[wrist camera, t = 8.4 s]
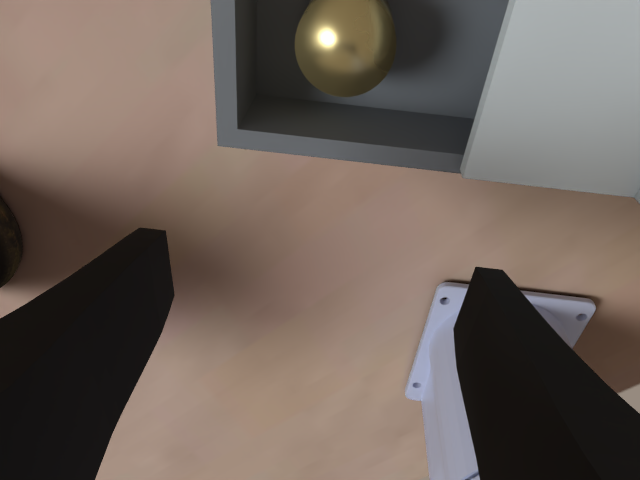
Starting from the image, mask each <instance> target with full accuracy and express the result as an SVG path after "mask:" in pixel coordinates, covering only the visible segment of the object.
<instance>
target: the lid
mask: <svg viewBox="0 0 640 480" xmlns="http://www.w3.org/2000/svg"><path fill="white" fill-rule="evenodd" d="M460 172H461V175H462V178H466V179H475V180H484V181H493V182H501V183H510V184H519V185H528V186H536V187H545V188H554V189H563V190H571V191H580V192H589V193H598V194H607V195H615V196H624V197H633V198H635V199H636V200H637V202H638V203H639V204H640V0H509V2H508V6H507V9H506V13H505V16H504V20H503V23H502V26H501V30H500V33H499V37H498V40H497V44H496V47H495V50H494V54H493V57H492V61H491V64H490V68H489V71H488V74H487V78H486V81H485V85H484V88H483V92H482V95H481V98H480V102H479V105H478V109H477V112H476V116H475V119H474V122H473V126H472V129H471V133H470V136H469V140H468V143H467V146H466V150H465V153H464V157H463V160H462V164H461V167H460Z"/></svg>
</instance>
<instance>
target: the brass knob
mask: <svg viewBox="0 0 640 480" xmlns="http://www.w3.org/2000/svg"><path fill="white" fill-rule="evenodd" d="M396 46H397V44H396V33H395V27H394V22H393V17H392V13H391V9H390V6H389V4H388V2H387V0H310V2H309V4H308V6H307V8H306V10H305V12H304V14H303V16H302V18H301V20H300V22H299V24H298V27H297V31H296V35H295V54H296V58H297V62H298V65H299V67H300V69H301V71H302V73H303V74H304V76H305V77H306V78H307V80H308V81H309V82H310V83H311V84H312V85H313V86H315V87H316V88H317V89H319V90H320V91H322V92H324V93H326V94H329V95H332V96H337V97H353V96H358V95H361V94H364V93H366V92H368V91H370V90H371V89H373V88H374V87H376V86H377V85H378V84H379V83H380V82H381V81H382V80H383V79H384V78H385V77H386V75H387V74H388V72H389V70H390V68H391V67H392V64H393V61H394V58H395V54H396Z"/></svg>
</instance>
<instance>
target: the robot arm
mask: <svg viewBox="0 0 640 480" xmlns="http://www.w3.org/2000/svg"><path fill="white" fill-rule="evenodd" d="M443 297H447V299H441V298H443ZM173 298H174V289H173V281H172V274H171V267H170V259H169V252H168V244H167V237H166V231H165V230H156V229H147V228H139V229H137V230H135V231H134V232H132V233H131V234H129V235H128V236H127V237H125V238H124V239H122V240H121V241H119V242H118V243H117V244H115V245H114V246H112V247H111V248H110V249H108V250H107V251H105V252H104V253H103V254H101V255H100V256H98V257H97V258H95V259H94V260H93V261H91V262H90V263H88V264H87V265H85V266H84V267H82V268H81V269H80V270H78V271H77V272H75V273H74V274H72V275H71V276H69V277H68V278H66V279H65V280H63V281H62V282H60V283H58V284H57V285H55V286H54V287H52V288H50V289H49V290H47V291H46V292H44V293H43V294H41V295H39V296H38V297H36V298H35V299H33V300H31V301H30V302H28V303H27V304H25V305H23V306H22V307H20V308H18V309H16V310H15V311H13V312H11V313H9V314H8V315H6V316H4V317H2V318H0V480H95V478H96V475H97V473H98V470H99V467H100V465H101V462H102V459H103V457H104V454H105V451H106V449H107V446H108V444H109V441H110V438H111V436H112V433H113V431H114V429H115V427H116V424H117V422H118V420H119V418H120V416H121V414H122V412H123V410H124V408H125V406H126V404H127V402H128V400H129V398H130V396H131V394H132V392H133V390H134V388H135V386H136V384H137V382H138V380H139V378H140V376H141V374H142V372H143V370H144V368H145V366H146V364H147V362H148V360H149V358H150V356H151V354H152V352H153V350H154V348H155V346H156V344H157V341H158V339H159V337H160V335H161V333H162V330H163V328H164V325H165V322H166V319H167V316H168V313H169V310H170V307H171V304H172V301H173ZM595 310H596V306H595V304H594V302H593V301H592V300H591V299H588V298H580V297H572V296H563V295H555V294H546V293H538V292H529V291H521V290H519V288H518V287H517V286H516V285H515V284H514V283H513V281H512V280H511V279H510V278H509V277H508V276H507V274H506V273H505V272H504V271H503V270H499V269H490V268H482V267H475V270H474V273H473V276H472V278H471V281H470V284H461V283H453V282H444V283H441V284H440V285H438V287H437V289H436V292H435V295H434V298H433V302H432V305H431V308H430V311H429V314H428V318H427V321H426V324H425V327H424V330H423V334H422V337H421V340H420V343H419V346H418V350H417V353H416V356H415V359H414V363H413V366H412V369H411V372H410V375H409V379H408V382H407V385H406V388H405V396H406V397H407V398H408V399H411V400H418V401H421V402H422V412H423V421H424V431H425V440H426V450H427V459H428V469H429V479H430V480H640V414H639V413H638V412H637V411H636V410H635V409H634V408H632V407H631V406H630V405H629V404H628V403H627V402H626V401H625V400H623V399H622V398H621V397H620V396H619V395H618V394H617V393H616V392H614V391H613V390H612V389H611V388H610V387H609V386H608V385H607V384H606V383H605V382H604V381H603V380H602V379H601V378H600V377H599V376H598V375H597V374H596V373H595V372H594V371H593V370H592V369H591V368H590V367H589V366H588V365H587V364H586V363H585V362H584V361H583V360H582V359H581V358H580V357H579V356H578V355H577V354H576V353H575V352H574V351H573V347H574V345H575V343H576V342H577V340H578V338H579V337H580V335H581V334H582V332H583V330H584V329H585V327H586V325H587V324H588V322H589V320H590V319H591V317H592V315H593V314H594V312H595ZM579 314H581V315H579Z"/></svg>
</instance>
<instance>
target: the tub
mask: <svg viewBox="0 0 640 480" xmlns="http://www.w3.org/2000/svg"><path fill="white" fill-rule="evenodd" d="M309 2H310V0H211V16H212V37H213V58H214V79H215V100H216V120H217V141H218V146H223V147H232V148H241V149H250V150H258V151H267V152H276V153H285V154H294V155H302V156H311V157H320V158H329V159H338V160H346V161H355V162H364V163H373V164H381V165H390V166H399V167H408V168H417V169H425V170H434V171H443V172H452V173H461V172H460V167H461V164H462V160H463V157H464V153H465V150H466V146H467V143H468V140H469V136H470V133H471V129H472V126H473V122H474V119H475V116H476V112H477V109H478V105H479V102H480V98H481V95H482V92H483V88H484V85H485V81H486V78H487V74H488V71H489V68H490V64H491V61H492V57H493V54H494V50H495V47H496V44H497V40H498V37H499V33H500V30H501V26H502V23H503V20H504V16H505V13H506V9H507V6H508V2H509V0H387V2H388V4H389V6H390V9H391V13H392V17H393V22H394V27H395V33H396V44H397V46H396V54H395V58H394V61H393V64H392V67H391V68H390V70H389V72H388V74H387V75H386V77H385V78H384V79H383V80H382V81H381V82H380V83H379V84H378V85H377V86H376V87H374V88H373V89H371V90H370V91H368V92H366V93H364V94H361V95H358V96H353V97H337V96H332V95H329V94H326V93H324V92H322V91H320V90H319V89H317V88H316V87H315V86H313V85H312V84H311V83H310V82H309V81H308V80H307V78H306V77H305V76H304V74H303V73H302V71H301V69H300V67H299V65H298V62H297V58H296V54H295V35H296V31H297V27H298V24H299V22H300V20H301V18H302V16H303V14H304V12H305V10H306V8H307V6H308V4H309Z"/></svg>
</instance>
